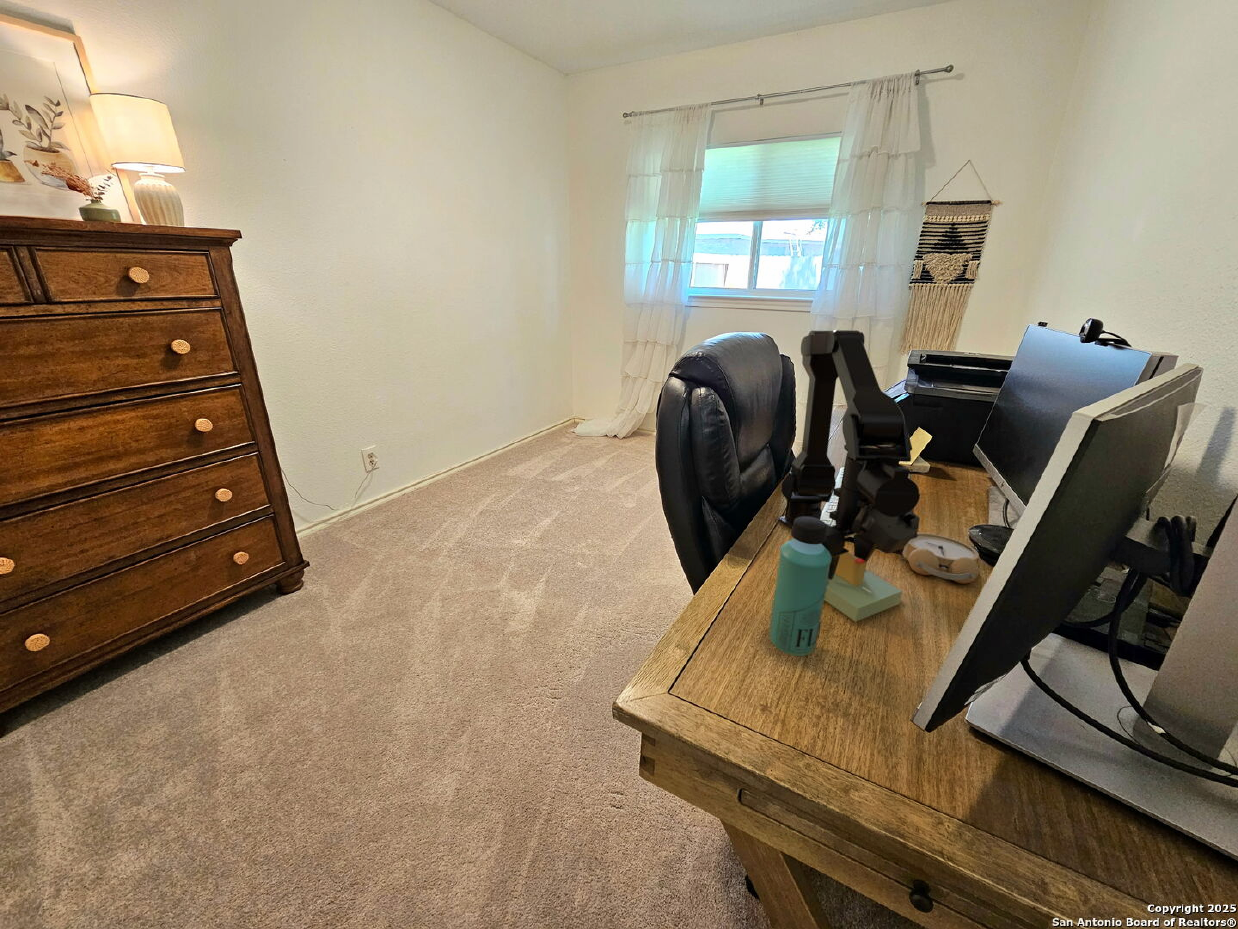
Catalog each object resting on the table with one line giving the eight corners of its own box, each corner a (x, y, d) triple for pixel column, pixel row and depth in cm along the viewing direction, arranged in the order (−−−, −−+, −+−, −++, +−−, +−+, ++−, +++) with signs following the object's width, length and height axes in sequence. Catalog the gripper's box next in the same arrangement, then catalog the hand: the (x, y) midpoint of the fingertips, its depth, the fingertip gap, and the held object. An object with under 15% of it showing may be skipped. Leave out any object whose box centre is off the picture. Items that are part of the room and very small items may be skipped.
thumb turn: (825, 567, 82) (829, 546, 80) (832, 565, 83) (836, 543, 81) (855, 586, 77) (860, 563, 75) (862, 584, 78) (867, 561, 76)
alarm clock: (972, 540, 90) (991, 568, 77) (966, 565, 91) (984, 596, 78) (904, 527, 94) (910, 551, 81) (898, 551, 96) (904, 578, 82)
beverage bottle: (791, 672, 63) (813, 539, 56) (756, 641, 69) (772, 516, 62) (826, 656, 66) (851, 527, 59) (789, 627, 72) (808, 506, 65)
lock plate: (787, 574, 85) (789, 561, 84) (829, 560, 89) (831, 548, 88) (854, 622, 73) (858, 607, 72) (899, 604, 77) (903, 590, 76)
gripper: (864, 521, 63) (844, 618, 69) (952, 495, 71) (927, 584, 77) (801, 490, 73) (787, 577, 78) (884, 470, 80) (866, 551, 86)
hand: (844, 573), depth 80 cm, fingers open, 7 cm apart
